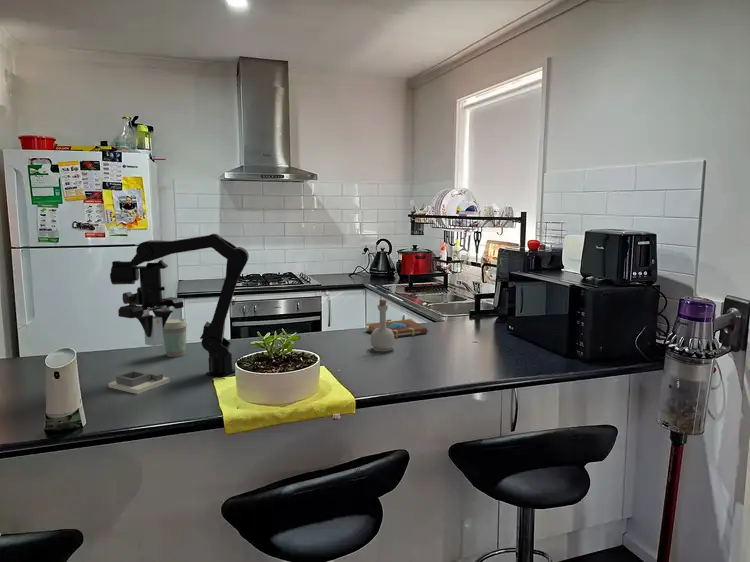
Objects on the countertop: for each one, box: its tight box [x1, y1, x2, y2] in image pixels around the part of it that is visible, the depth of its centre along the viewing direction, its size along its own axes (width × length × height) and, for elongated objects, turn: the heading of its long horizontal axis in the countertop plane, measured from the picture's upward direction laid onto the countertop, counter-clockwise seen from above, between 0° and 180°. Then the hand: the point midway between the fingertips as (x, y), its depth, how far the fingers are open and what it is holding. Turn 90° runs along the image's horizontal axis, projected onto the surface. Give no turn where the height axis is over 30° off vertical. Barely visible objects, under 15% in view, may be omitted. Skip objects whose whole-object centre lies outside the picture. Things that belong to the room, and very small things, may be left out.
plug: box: [143, 315, 164, 347], centre depth 158 cm, size 4×3×8 cm
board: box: [108, 370, 171, 395], centre depth 153 cm, size 12×11×3 cm
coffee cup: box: [163, 317, 188, 358], centre depth 182 cm, size 8×9×12 cm
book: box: [365, 318, 430, 339], centre depth 215 cm, size 16×25×5 cm, turn 115°
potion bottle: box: [369, 299, 396, 353], centre depth 189 cm, size 9×9×18 cm
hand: (153, 335), depth 159 cm, fingers closed on plug, 3 cm apart
